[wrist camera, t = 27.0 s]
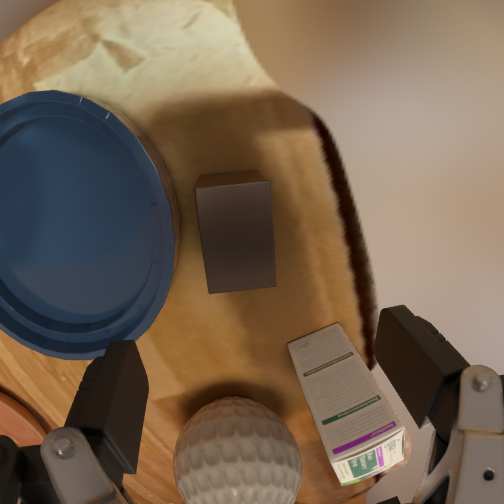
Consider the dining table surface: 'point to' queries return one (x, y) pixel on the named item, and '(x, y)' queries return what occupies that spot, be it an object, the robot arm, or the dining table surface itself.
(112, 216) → the glazed bowl
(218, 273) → the dark brown block
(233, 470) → the vase
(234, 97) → the dining table surface
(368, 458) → the syrup box
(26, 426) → the saucer
